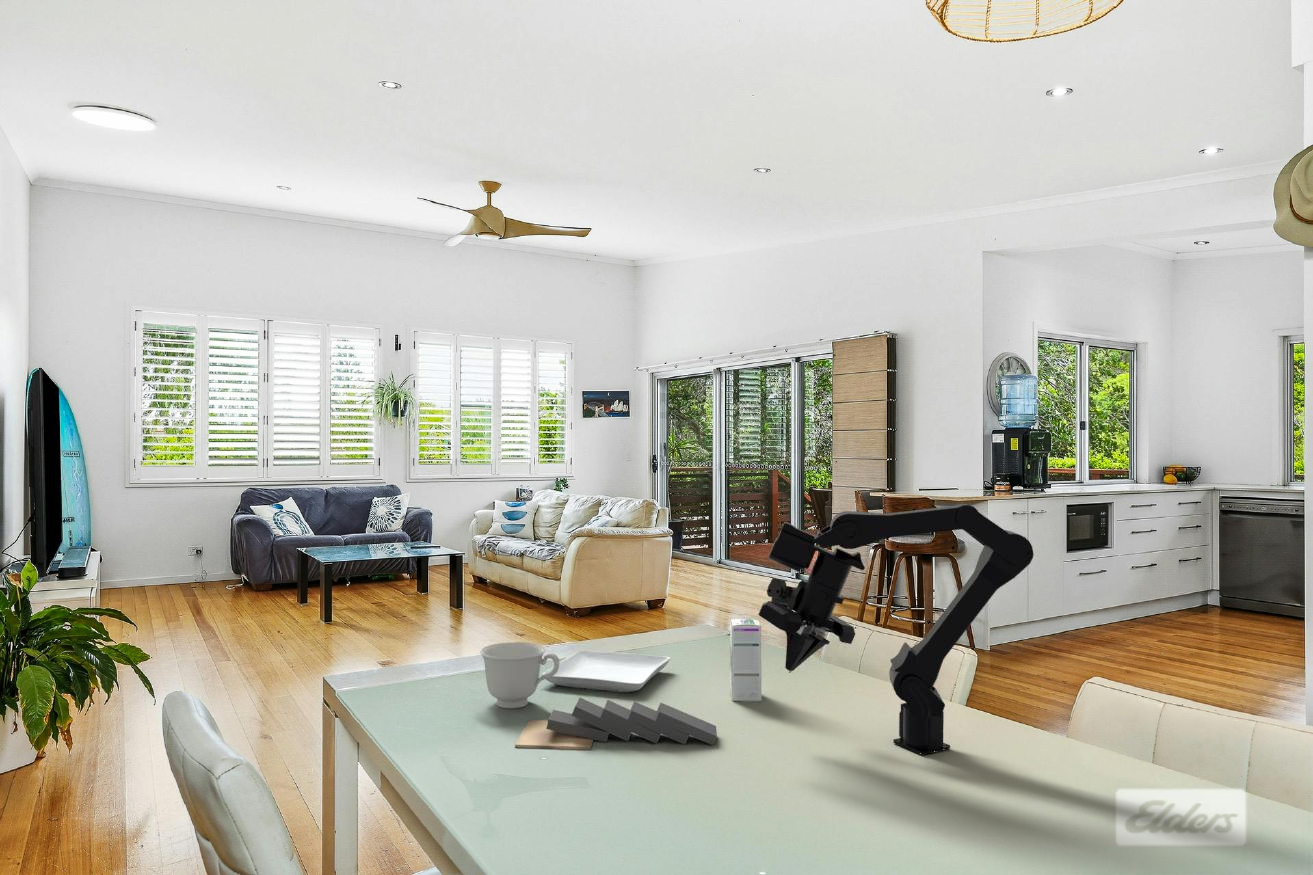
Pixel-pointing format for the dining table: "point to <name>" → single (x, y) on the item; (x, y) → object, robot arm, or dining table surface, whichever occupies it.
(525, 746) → the cork mat
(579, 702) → the domino
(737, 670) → the syrup box
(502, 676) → the teacup
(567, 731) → the domino
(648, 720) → the domino
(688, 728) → the domino
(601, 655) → the salad plate
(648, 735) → the domino
